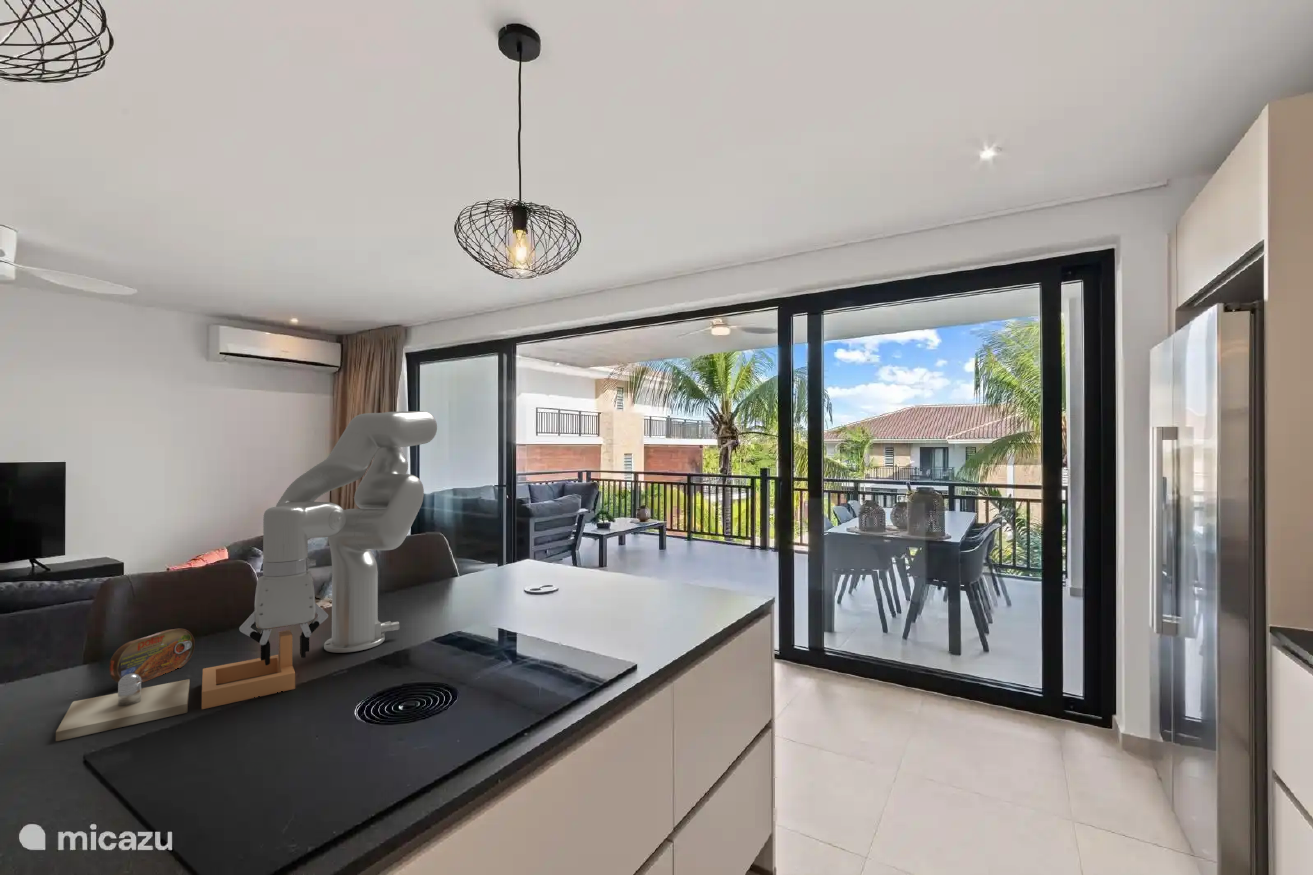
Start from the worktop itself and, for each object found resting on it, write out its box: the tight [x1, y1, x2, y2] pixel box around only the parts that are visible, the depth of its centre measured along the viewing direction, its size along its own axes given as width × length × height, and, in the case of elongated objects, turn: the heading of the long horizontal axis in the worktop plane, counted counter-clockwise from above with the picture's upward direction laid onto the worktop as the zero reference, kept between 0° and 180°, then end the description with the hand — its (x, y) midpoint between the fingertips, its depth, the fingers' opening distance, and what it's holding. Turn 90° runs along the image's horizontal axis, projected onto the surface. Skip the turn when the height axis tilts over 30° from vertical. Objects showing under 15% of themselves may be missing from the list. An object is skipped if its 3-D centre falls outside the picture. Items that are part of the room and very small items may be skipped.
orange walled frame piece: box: [201, 629, 296, 710], centre depth 111 cm, size 14×14×9 cm
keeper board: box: [55, 678, 191, 742], centre depth 101 cm, size 16×14×2 cm
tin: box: [108, 628, 196, 684], centre depth 117 cm, size 15×3×8 cm, turn 168°
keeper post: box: [117, 673, 142, 707], centre depth 101 cm, size 3×3×5 cm
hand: (285, 658), depth 115 cm, fingers open, 5 cm apart
